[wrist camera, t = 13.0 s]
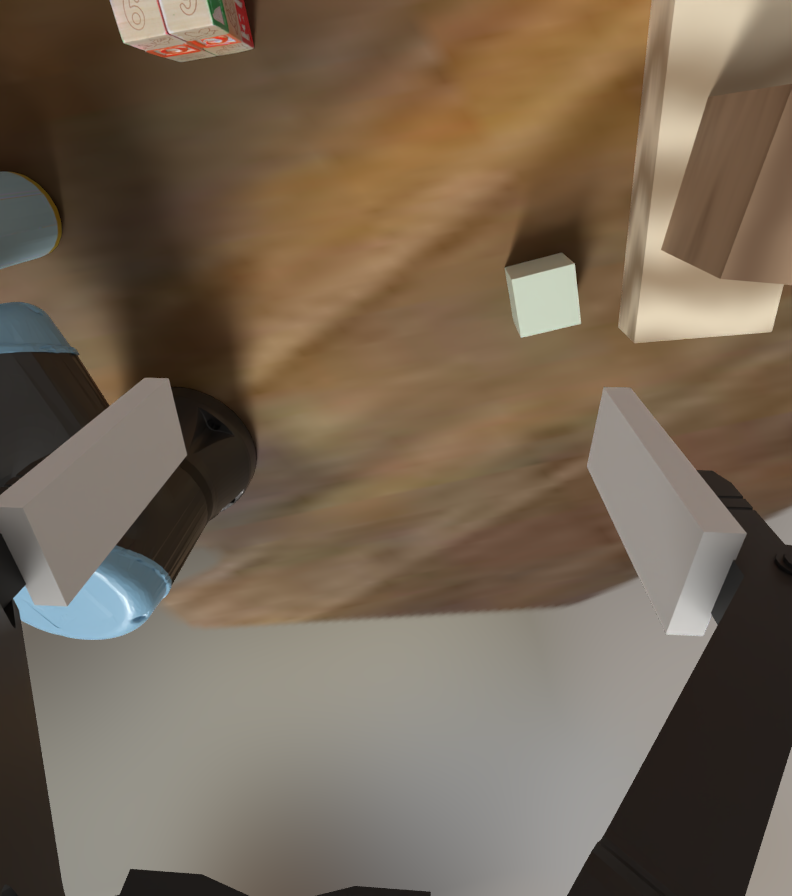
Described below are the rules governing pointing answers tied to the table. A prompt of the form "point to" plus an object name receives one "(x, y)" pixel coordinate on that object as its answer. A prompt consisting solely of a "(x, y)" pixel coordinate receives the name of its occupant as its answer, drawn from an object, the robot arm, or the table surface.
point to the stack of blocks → (184, 27)
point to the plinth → (667, 153)
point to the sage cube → (543, 294)
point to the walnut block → (738, 190)
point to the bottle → (26, 220)
